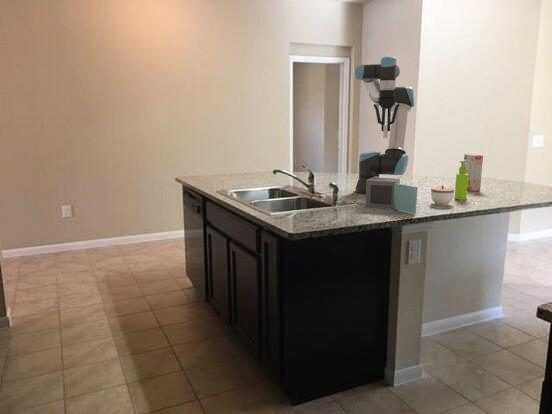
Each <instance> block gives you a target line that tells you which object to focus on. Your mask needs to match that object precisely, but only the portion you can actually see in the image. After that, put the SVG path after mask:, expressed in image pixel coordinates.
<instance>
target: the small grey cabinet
mask: <svg viewBox="0 0 552 414" xmlns="http://www.w3.org/2000/svg"><path fill="white" fill-rule="evenodd" d="M400 181H401V179H400V178H393V177H392V178H391V177H380V176H379V177H374V178H373V177H371V178H370V179H368V180H366V194H365V208H375V209H377V208H378V209H388V210H389V209H391V210H394V209H393V205H394V183H397V184H401V183H400Z"/></svg>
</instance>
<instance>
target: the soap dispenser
mask: <svg viewBox="0 0 552 414" xmlns="http://www.w3.org/2000/svg"><path fill="white" fill-rule="evenodd" d="M459 162H460V166H459V167H458V168H459V169H458V173H456V175H455V176H456V177H455V186H454V187H455V188H454V199H455V200H467V195H468V190H467V184H468V174H466V167H465V162H468V163H471V162H469V161H464V160H460V161H459Z"/></svg>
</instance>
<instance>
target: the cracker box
mask: <svg viewBox="0 0 552 414" xmlns="http://www.w3.org/2000/svg"><path fill="white" fill-rule="evenodd" d="M483 159H484V156H483V155H482V154H481V155H480V154H475V153H464V155H463V161H469V162H471V163H468V162H465V167H466V174H468V184H467V191H470V192H481V183H482V170H483V163H484V160H483Z"/></svg>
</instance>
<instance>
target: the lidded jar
mask: <svg viewBox="0 0 552 414" xmlns="http://www.w3.org/2000/svg"><path fill="white" fill-rule="evenodd" d="M430 190H431V191H430V195H431V200H432V202H433V203H434V204H435V205H437V206H448V205H449V204H450V203H451V202H452V201H453V198H454V195H455V188H450V187H445V186H444V185H441V187H438V186H437V187H432V188H430Z"/></svg>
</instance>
